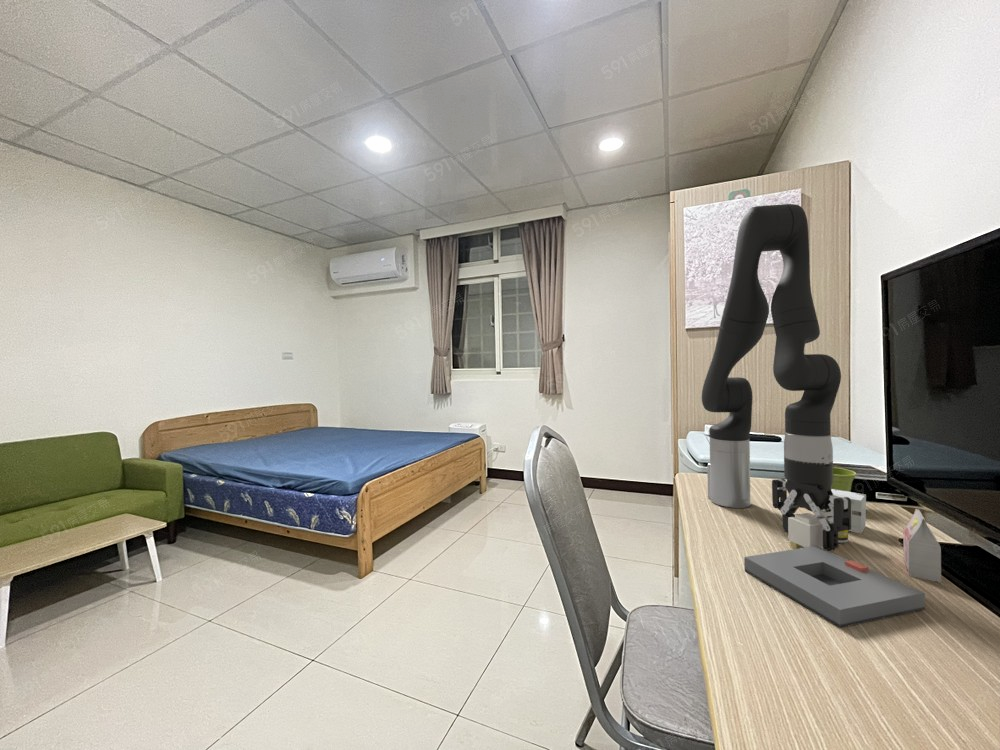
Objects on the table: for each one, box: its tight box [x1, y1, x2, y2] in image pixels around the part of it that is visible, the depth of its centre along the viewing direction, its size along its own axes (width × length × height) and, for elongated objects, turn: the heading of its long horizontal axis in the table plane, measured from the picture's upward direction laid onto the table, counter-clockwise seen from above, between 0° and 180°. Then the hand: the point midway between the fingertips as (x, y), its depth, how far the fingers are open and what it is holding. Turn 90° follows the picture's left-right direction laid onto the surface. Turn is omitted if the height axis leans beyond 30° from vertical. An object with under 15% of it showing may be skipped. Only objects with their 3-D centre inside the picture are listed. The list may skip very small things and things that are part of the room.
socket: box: [743, 546, 926, 628], centre depth 64 cm, size 16×16×3 cm
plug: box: [787, 512, 825, 550], centre depth 77 cm, size 4×5×7 cm
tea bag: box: [902, 508, 942, 583], centre depth 69 cm, size 4×7×10 cm, turn 140°
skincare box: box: [831, 489, 867, 535], centre depth 88 cm, size 6×6×7 cm
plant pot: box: [831, 466, 857, 492], centre depth 103 cm, size 9×9×9 cm
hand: (808, 540), depth 77 cm, fingers open, 7 cm apart
